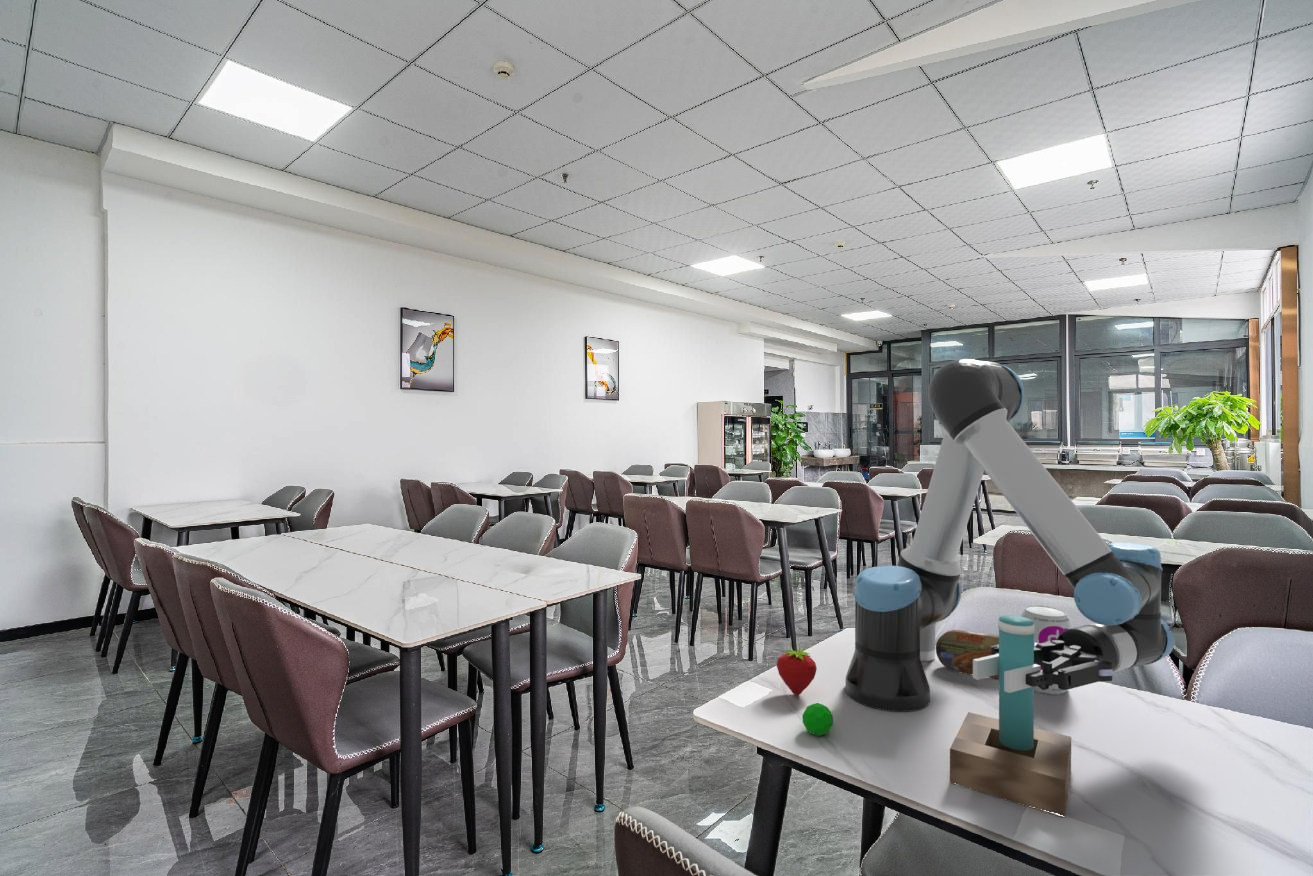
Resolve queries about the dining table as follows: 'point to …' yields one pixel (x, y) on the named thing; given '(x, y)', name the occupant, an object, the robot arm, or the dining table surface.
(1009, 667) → the peg
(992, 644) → the tin
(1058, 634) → the supplement can
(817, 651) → the dining table surface
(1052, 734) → the socket block
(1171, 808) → the dining table surface
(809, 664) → the strawberry
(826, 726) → the polyhedron
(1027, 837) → the dining table surface
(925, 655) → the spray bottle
